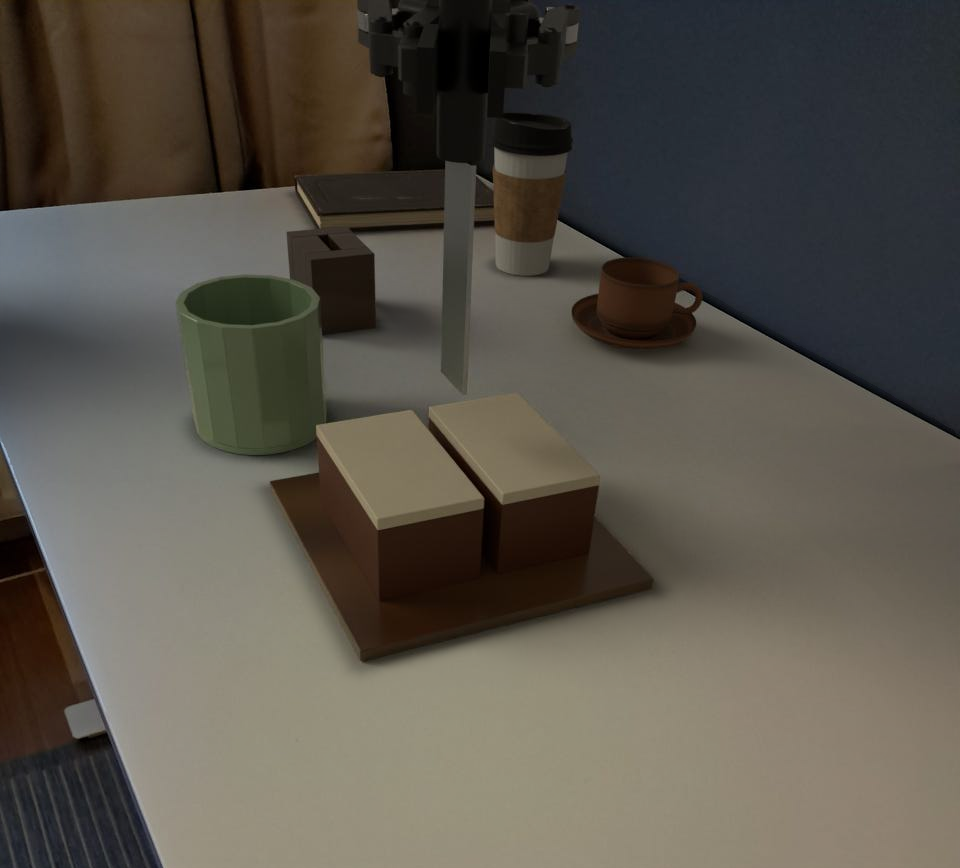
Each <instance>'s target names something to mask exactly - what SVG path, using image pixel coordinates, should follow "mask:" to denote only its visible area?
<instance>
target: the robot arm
mask: <svg viewBox="0 0 960 868" xmlns="http://www.w3.org/2000/svg"><path fill="white" fill-rule="evenodd" d="M356 7H357V11H356V12H357V38H358V41H357V42H358V44H359V45H362V46H363V47H365V48H367V49H368V56H369V57H368V58H369V73H370V74H371V75H374V76H375V77H378V78H386V77H387V76H392V75H393V74H394V67H396V68H397V73H398V74H397V76H398V77H397V79H398V80H399V81H400V82H402V83H403V86H402V87H403V93H402V94H403V95H404V96H407V97H416V114H421V115H433V114H434V110H435V106H436V105H435V104H436V102H437V91H438V45H439V0H399V2H398V5H397V8H393V1H392V0H356ZM580 14H581V7H580V6H579V7H578V6H575V4H573V3H566V4H565V5H561V6H557V7H554V6H546V7H545V9H544V17H541V16H540V15H541V13H540V9H539V8H538V6H537V5H536V4H534V3H532V2H530V0H492V16H491V31H490V53H489V74H488V99H487V118H492V119H493V118H494V119H495V118H503V112H504V107H505V89H518V90H524V89H525V88H527V82H528V76H534V83H535V84H536V85H540V87H542V88H551V87H553V86H557V85H558V83H559V79H560V76H561V72H562V69H563V66H564V62H565V61H566V60H568V59H572V58H574V57H577V56H576V55H577V46H578V35H579V26H580V16H581V15H580Z"/></svg>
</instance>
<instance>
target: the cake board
mask: <svg viewBox="0 0 960 868" xmlns="http://www.w3.org/2000/svg"><path fill="white" fill-rule="evenodd" d="M269 490H270V492H271V494H272V496H273V498H274V499H275V501H276V503H277V505H278V507H279V509H280V511H281V513H282V515H283V516H284V519H285V521H286V522H287V524H288V526H289V528H290V530H291V532H292V534H293V536H294V537H295V539H296V541H297V544H298V545H299V547H300V549H301V551H302V553H303V554H304V557H305V559H306V560H307V563H308V564H309V567H310V568H311V570H312V572H313V574H314V576H315V578H316V579H317V581H318V583H319V585H320V587H321V589H322V591H323V593H324V595H325V597H326V599H327V601H328V602H329V604H330V606H331V608H332V610H333V612H334V613H335V615H336V617H337V619H338V621H339V623H340V625H341V627H342V629H343V631H344V632H345V634H346V636H347V638H348V640H349V642H350V644H351V646H352V647H353V650H354V651H355V653H356V655H357V657H358V659H359V661H360V662H363V661H368V660H371V659H376V658H379V657H383V656H387V655H393V654H396V653H399V652H404V651H407V650H411V649H415V648H418V647H424V646H427V645H431V644H435V643H439V642H443V641H444V642H445V641H447V640H452V639H455V638H459V637H464V636H467V635H471V634H475V633H478V632H479V633H480V632H483V631H487V630H491V629H495V628H499V627H503V626H506V625H511V624H515V623H519V622H522V621H527V620H530V619H535V618H539V617H542V616H547V615H551V614H555V613H558V612H563V611H566V610H571V609H575V608H579V607H583V606H587V605H591V604H595V603H598V602H599V603H600V602H602V601H606V600H611V599H615V598H618V597H622V596H627V595H631V594H634V593H638V592H642V591H646V590H651V589H652V588H653V585H654V581H655V579H654V577H653V576H652V575H651V574H650V573H649V572H648V571H647V570H646V568H645V567H644V566H642V565H641V563H640V562H639V561H638V560H637V559H636V558H635V557H634V556H633V555H632V554H631V553H630V552H629V550H627V549H626V547H624V546H623V544H622V543H621V542H620V541H619V540H618V539H617V538H616V537H615V536H614V535H613V534H612V533H611V532H610V531H609V530H608V529H607V528H606V527H605V525H603V524H602V522H601V521H600V520H599V519H598V518H597V517H596V516H595V517H594V524H593V530H592V537H591V544H590V551H589V553H587V554H582V555H578V556H574V557H569V558H565V559H561V560H556V561H552V562H548V563H543V564H539V565H535V566H530V567H526V568H522V569H517V570H513V571H509V572H504V573H500V574H497V573H496V572H495V570H494V569H493V568H492V567H491V565H490V564H489V563H488V561H487V560H486V559H485V557H484V556H483V555H482V553H481V566H480V578H478V579H474V580H470V581H465V582H461V583H457V584H452V585H448V586H444V587H439V588H435V589H431V590H426V591H422V592H418V593H413V594H409V595H405V596H400V597H396V598H392V599H387V600H383V601H379V600H378V598H377V597H376V595H375V593H374V591H373V590H372V588H371V586H370V585H369V583H368V581H367V579H366V578H365V576H364V574H363V573H362V571H361V569H360V568H359V566H358V564H357V562H356V561H355V559H354V557H353V556H352V554H351V552H350V551H349V549H348V547H347V545H346V544H345V542H344V540H343V539H342V537H341V535H340V534H339V532H338V530H337V528H336V527H335V525H334V523H333V522H332V520H331V518H330V517H329V515H328V513H327V511H326V510H325V508H324V506H323V505H322V503H321V495H320V480H319V471H318V472H314V473H313V472H312V473H307V474H302V475H296V476H291V477H286V478H280V479H275V480H273V479H272V480H270V481H269Z"/></svg>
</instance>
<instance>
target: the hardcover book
mask: <svg viewBox="0 0 960 868" xmlns="http://www.w3.org/2000/svg"><path fill="white" fill-rule="evenodd" d="M293 177H294V180H293V181H294V190H295V195H296V197H297V199H298V200H299V202H300V203H301V205H302V207H303V208H304V210H305V212H306V214H307V215H308V218H309V219H310V221H311V223H312V225H313V226H314V228H315V229H322V228H334V227H345V226H347V227H348V228H349V229H350V230H351V231H352V232H353V233H357V232H375V231H376V232H378V231H393V230H394V231H395V230H396V231H397V230H413V229H414V230H415V229H432V228H433V229H435V228H444V203H445V169H424V170H423V169H422V170H420V169H419V170H397V171H371V172H346V173H345V172H343V173H318V174H317V173H316V174H314V173H313V174H295V175H294V176H293ZM488 225H489V226H490V225H495V220H494V190H493V189H491V188H490V186H488V185H487V184H486V183H485V182H484V181H483V180H481V178H479V176H477V175H476V186H475V210H474V226H488Z"/></svg>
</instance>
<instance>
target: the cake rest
mask: <svg viewBox="0 0 960 868" xmlns="http://www.w3.org/2000/svg"><path fill="white" fill-rule="evenodd" d="M413 410H414V409H413ZM413 410H412V409H407V410H401V411H395V412H389V413H382V414H377V415H370V416H363V417H358V418H351V419H346V420H338V421H333V422H332V421H331V422H328V423H327V422H326V424H320V425H316V433H317V438H316V446H317V447H316V448H317V462H318V463H317V464H318V465H317V466H318V472H319V480H320V495H321V503H322V505H323V506H324V508H325V510H326V511H327V513H328V515H329V517H330V518H331V520H332V522H333V523H334V525H335V527H336V528H337V530H338V532H339V534H340V535H341V537H342V539H343V540H344V542H345V544H346V545H347V547H348V549H349V551H350V552H351V554H352V556H353V557H354V559H355V561H356V562H357V564H358V566H359V568H360V569H361V571H362V573H363V574H364V576H365V578H366V579H367V581H368V583H369V585H370V586H371V588H372V590H373V591H374V593H375V595H376V597H377V598H378V600H379V601H383V600H387V599H392V598H396V597H400V596H405V595H409V594H413V593H418V592H422V591H426V590H431V589H435V588H439V587H444V586H448V585H452V584H457V583H461V582H465V581H470V580H474V579H478V578H480V566H481V549H482V532H483V516H484V509H483V508H484V497H483V496H482V495H481V493H480V492H479V491H478V490H477V489H476V487H475V486H474V485H473V484H472V482H471V481H470V480H469V479H468V478H467V476H466V475H465V474H464V473H463V471H462V470H461V469H460V468H459V467H458V465H457V464H456V463H455V462H454V460H453V459H452V458H451V457H450V456H449V454H448V453H447V452H446V451H445V449H444V448H443V447H442V446H441V445H440V443H439V442H438V441H437V440H436V438H435V437H434V436H433V435H432V434H431V432H430V431H429V430H428V427H427V426H426V425H425V424H424V422H423V421H422V420H421V419H420V418H419V416H418V415H417V414H416V413H415V412H414V411H413Z"/></svg>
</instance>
